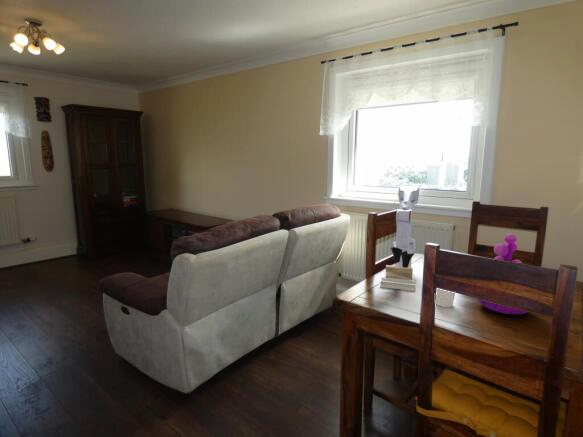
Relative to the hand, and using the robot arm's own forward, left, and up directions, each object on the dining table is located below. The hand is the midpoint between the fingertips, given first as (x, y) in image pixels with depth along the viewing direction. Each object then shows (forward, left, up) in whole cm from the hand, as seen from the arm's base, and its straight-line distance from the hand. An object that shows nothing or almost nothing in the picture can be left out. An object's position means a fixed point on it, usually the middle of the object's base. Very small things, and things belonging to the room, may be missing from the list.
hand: (401, 264), depth 156 cm
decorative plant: (+15, +38, -10) cm, 42 cm away
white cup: (+17, +17, -10) cm, 26 cm away
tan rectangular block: (-5, -1, -10) cm, 11 cm away
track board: (+3, -1, -10) cm, 10 cm away
